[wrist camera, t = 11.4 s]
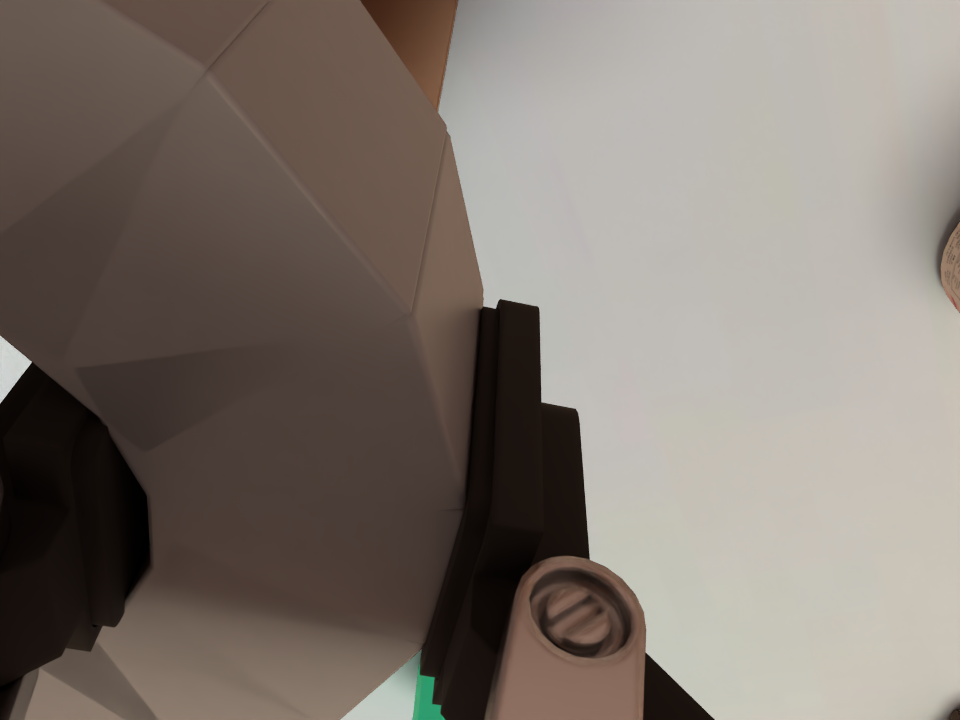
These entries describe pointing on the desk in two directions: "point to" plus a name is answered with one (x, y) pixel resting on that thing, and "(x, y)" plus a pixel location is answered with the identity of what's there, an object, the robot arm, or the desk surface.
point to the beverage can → (952, 268)
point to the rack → (418, 37)
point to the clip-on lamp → (955, 715)
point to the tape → (245, 337)
